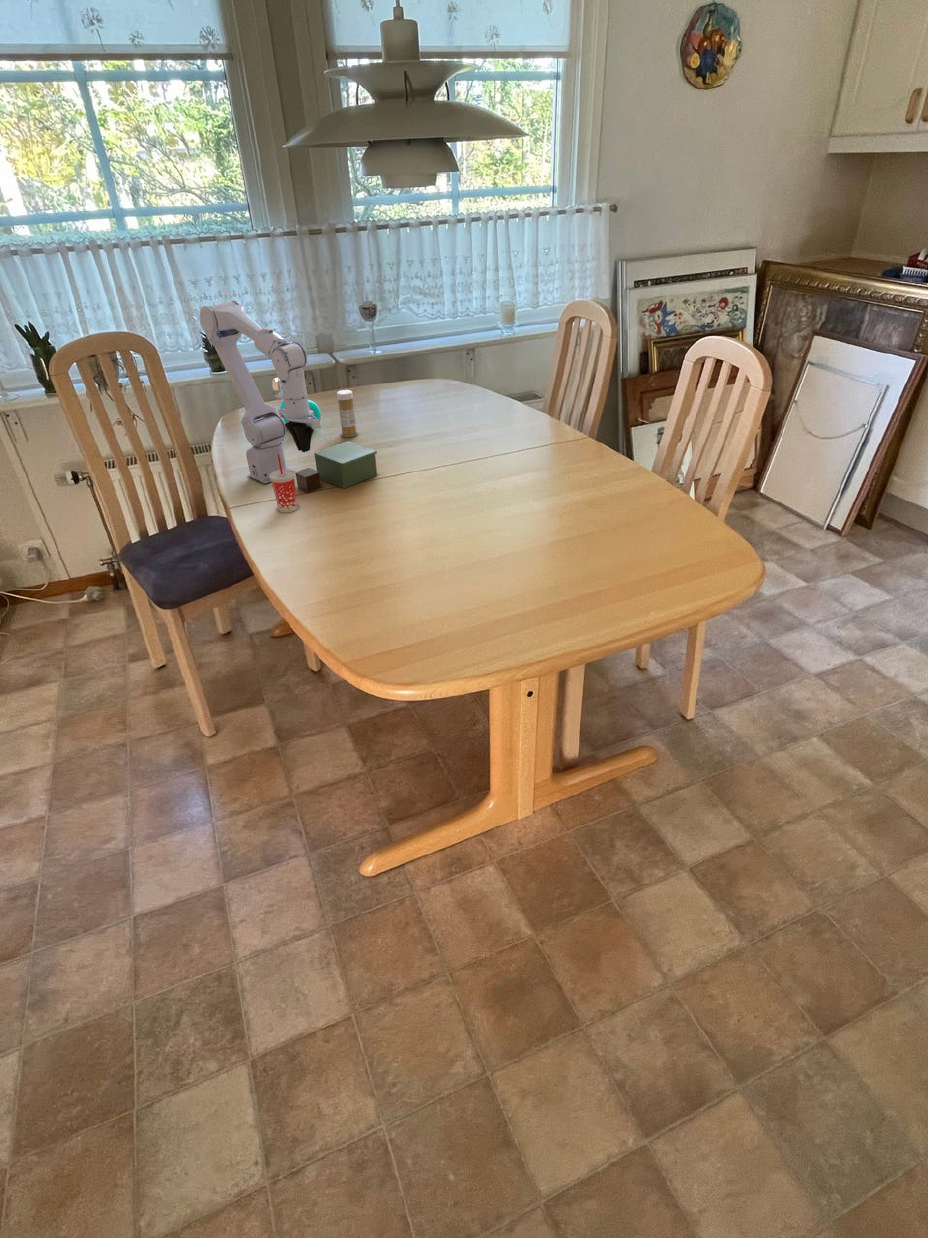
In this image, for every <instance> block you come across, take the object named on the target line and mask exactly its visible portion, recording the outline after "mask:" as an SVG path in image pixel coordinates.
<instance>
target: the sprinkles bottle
mask: <svg viewBox="0 0 928 1238" xmlns="http://www.w3.org/2000/svg"><path fill="white" fill-rule="evenodd" d="M353 394H354V393H353V391H352V390H351V389H342V390H341V389H340V390H339V391H337V392H336V397H337V401H338V411H339V419H340V425H341V435H342V436H343V437H344V438H353V437H356V436H357V435H358V432H357V427H356V416H355V408H354V401H353V397H354V396H353Z"/></svg>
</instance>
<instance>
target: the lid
mask: <svg viewBox="0 0 928 1238" xmlns="http://www.w3.org/2000/svg"><path fill="white" fill-rule="evenodd" d="M313 453H314V457H315V456H318V457H320V458H323V459H325V460H328V461H331V462H333V463H336V464H338V465H341V466H345V465H347V464H350V463H353V462H355V461H358V460H361V459H363V458H366V457H369V456H371V455H374V454H375V455H376V454H378V451H377V450H375V449H372V448H370V447H366V446H363V445H361V444H358V443H355V442H352V441H349V440H347V441H344V442H341V443H338V444H335V445H332V446H329V447H326V448H324V449H321V450H318V451H315V452H313Z"/></svg>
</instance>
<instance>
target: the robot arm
mask: <svg viewBox="0 0 928 1238" xmlns="http://www.w3.org/2000/svg"><path fill="white" fill-rule="evenodd" d="M199 324H200V327H201V328H202V330H203V332H204V335H205V336H206V338H207V340H208V342H209V345H211V346H213V347H214V349H215V351H216V353H217V355H218V357H219V359H220V361H221V363H222V365H223V367H224V369H225V371H226V373H227V375H228V377H229V379H230V381H231V383H232V386H233V387H234V389H235V391H236V393H237V396H238V398H239V399H240V402H241V403H242V406H243V407H244V410H245V412H244V415H243V416H242V419H241V421H240V423H241V425H242V428H243V432H244V435H245V438H246V440H247V442H248V443H249V444H250V445H251V447H250V448H248V449H247V450H246V452H245V453H246V454H245V455H246V461H247V465H248V471H249V474H248V476H249V477H250V478H252V479H254V480H256V481H258V482H261V483H262V484H268V483H272V482H271V480H270V478H269V475H270V474H271V473H272V472H275V471H278V470H280V466H279V461H278V454H279V455H280V460H281V466H282V470H290V469H289V468H287V463H286V457H285V452H284V446H283V442H284V441H285V437H286V435H287V431H288V432H289V434H290V435H291V437H292V439H293V442H294V443H295V446H296V449H297V450H298V451H299V452H302V453H307V452H309V451H311V446H312V445H311V444H312V436H313V433H314V431H315V430H316V429H319V428H321V420H320V421H319V419H317V418H315V417H314V416H313V415H312V414H314V413H313V411H311V410H309V403H308V400H309V398H308V391H307V384H306V378H305V370H304V368H305V367H306V365H307V363H308V357H307V356H308V355H307V352H306V350H305V348H304V347H303V345H302V344H301V343H300V342H298V341H293V342H292V341H288V340H286V339H285V338H283V337H282V336H281V335H280V334H278V333H277V332H275V331H274V329H273V328H271V327H261V326H260V325H259V324H257V323H256V321H254V320H253V319H252V318H251V317H250V316H249V315H247V312H246V309H245V306H244V305H243V304H240V302H239V301H238V300H231V301H228V302H223V303H217V304H212V305H204V306H202V307H201V308H200V310H199ZM242 335H243V336H246V337H247V338H249V339H250V340H252V341H253V344H254V347H255V349H257V351H259V352H260V353H262V354H263V355H264V356H265V357H267V358H268V359H270V360H271V363H272V366H273V368H274V369H275V371H276V375H277V378H279V379H280V380H281V385H282V391H283V397H284V403H285V408H283V409H280V408H279V409H278V410H277V408H276V407H275V406H272V405H270V404H267V403H266V402H265V401H264V398H263V397H262V395H261V393H260V390H259V389H258V386H257V384H256V382H255V380H254V378H253V376H252V374H251V373H250V370H249V368H248V366H247V364H246V362H245V360H244V358H243V356H242V353H241V351H240V349H239V348H238V344H237V343H238V341H239V340H240V339H241V337H242ZM284 417H285V418H286V419H287V420H288V421H289V423H285V421H284V420H283V418H284Z"/></svg>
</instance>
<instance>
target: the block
mask: <svg viewBox="0 0 928 1238" xmlns="http://www.w3.org/2000/svg"><path fill="white" fill-rule="evenodd" d="M295 478H296V479H295V480H296V485H297V489H299V490H301V491H303V492H304V493H307V494H308V493H311V492H314V491H317V490H319V489H322V483H321V482H322V481H321V478H320V474H319V472H318V471H317V469H313V468H311V467H307V468H305V469H302V470H299V471H296V472H295Z"/></svg>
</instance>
